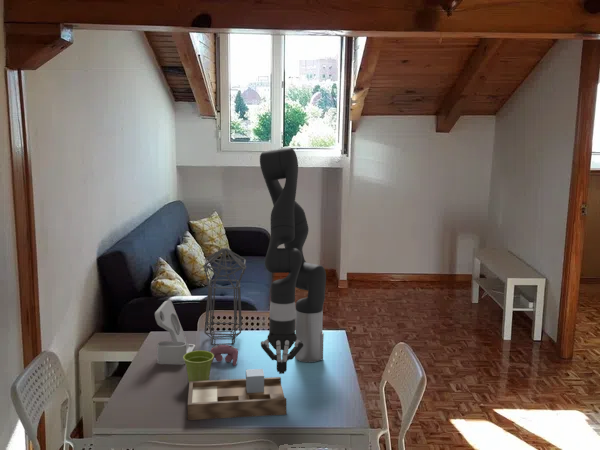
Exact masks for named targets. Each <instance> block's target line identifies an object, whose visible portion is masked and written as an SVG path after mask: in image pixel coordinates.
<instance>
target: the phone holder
mask: <svg viewBox="0 0 600 450" xmlns="http://www.w3.org/2000/svg"><path fill="white" fill-rule="evenodd" d="M154 318H155V322H156V324H157V325H158V326H159V327H160V328H161V329H164V330H165V331H167V332H168V334H169V335H170V338H171V341H169V340H168V341H160V342H157V344H156V352H157V354H156V355H157V356H156V357H157V359H156V364H159V365H179V366H181V365H182V366H183V365H186V363H185V360H184V359H183V356H184V355H185V354H186V353H188V352H192V351H195V348H196V345H195V344H193V343H189V342H188V338H187V337H186V334H185V332H184V330H183V327H182V325H181V322H180V320H179V316H178V314H177V312H176V310H175V306H174V304H173V302H172V300H171V299H168V300H165V301H164V302H162V304H161V305H160V306H159V307H158V309H157V310H156V311H154Z"/></svg>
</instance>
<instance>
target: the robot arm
mask: <svg viewBox="0 0 600 450" xmlns="http://www.w3.org/2000/svg"><path fill="white" fill-rule="evenodd" d="M259 164H260V165H259V166H260V170H261V173H262V174H261V175H262V176H263V179H264V182H265V184H266V187H267V190H268V193H269V195H270V198H271V201H272V205H273V207H272V209H271V213H270V238H269V239H270V240H269V244H268V248H267V252H266V255H265V257H264V258H265V259H264V266H265V268H266V270H267V271H268V272H269V273H273V274H276V273H277V274H278V273H280V274H282V273H284V274H285V273H286V274H287V275H286V276H285V277H283V278H280V279H276V280H274V281H272V282H271V285H270V304H269V305H270V306H269V325H268V328H269V331H268V335H267V338H266V339H265V340H264V341H263V340H262V341H260V346H261V349H262V350H263V351H264V352H265V354H266V355H267V356H268V357H269V358H270V359H271V361H275V362H276V371H277V372H278V374H279V375H282V374H283V375H284V374H285V372H287V370H288V368H287V365H288V363H287V362H288V361H289V360H291V361H292V360H293V359H294V358H295V359H296V360H297V361H299V362H302V363H315V362H319V361H324V335H325V334H324V332H323V318H324V317H323V315H324V314H323V312H324V310H323V309H324V302H325V299H326V285H327V284H326V282H327V273H326V269H325V267H324V266H323V265H320V264H318V263H317V264H316V263H312V262H310V263H309V262H307V261H306V260H305V257H304V253H303V251H304V250H303V248H304V245H305V242H306V241H307V239H308V238H307V237H308V235H309V225H308V220H307V216H306V212H305V210H304V209H303V208H302V206H301V205H300V203H298V202H297V201H296V195H297V188H298V187H297V186H298V175H299V161H298V157H297V153H296V151H295V150H294V148H292V147H282V148H278V149H277V148H275V149H270V150H265V151H262V152H261V154H260V155H259ZM283 179H284V180H285V182H284V186H283V187H282V185H281V183H280V181H279V180H283ZM282 245H283V246H284V247H279V246H282ZM296 288H297V289H299V290H303V291H307V297H303V298H300V299H298V300H297V301H296ZM293 345H294V347H293ZM270 346H272V348H273V349H274V350H275V353H276V354H275V353H274V352H273V351H272V349H271V348H270ZM292 347H293V348H292ZM291 348H292V349H291ZM290 349H291V350H290ZM289 350H290V351H289Z"/></svg>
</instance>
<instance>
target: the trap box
mask: <svg viewBox="0 0 600 450" xmlns="http://www.w3.org/2000/svg"><path fill="white" fill-rule="evenodd" d="M188 383H189V384H188V395H187V420H188V421H194V420H195V421H196V420H198V421H199V420H213V419H230V418H231V419H232V418H248V417H267V416H268V417H269V416H285V415H287V397H285V393H284V389H283V386H282V377H281V376H274V377H272V376H271V377H264V392H256V393H247V390H246V378H235V379H234V378H233V379H230V378H229V379H213V380H212V379H211V380H210V379H209V380H207V381H190V382H189V381H188Z"/></svg>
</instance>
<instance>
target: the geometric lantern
mask: <svg viewBox="0 0 600 450" xmlns="http://www.w3.org/2000/svg"><path fill="white" fill-rule="evenodd" d="M220 255H221V256H220ZM219 256H220V258H218V257H219ZM227 257H228V259H227ZM231 258H232V259H231ZM204 260H205V262H204V264H203V266H202V268H203V269H204V274H205V277H206V282H207V283H206V284H207V287H208V288H207V298H206V299H207V301H206V310H205V321H204V335H206V336H208V337H209V338H210V341H211V342H210V344H211V345H212V346H213V345H214V346H218V345H234V344H235V342H236V338H237V337H238V336H239V335H240V334H241V333H242V324H243V323H242V322H243V320H242V299H241V297H242V296H241V280H242V278H243V275H245V271H246V269H247V268H248V267H247V265H246V263H247V261H246V260H247V259H245V258H244V257H243V256H240V255H239V254H237V253H235V252H234V251H232V250H230V249H229V248H227V247H223V248H221V249H219V250H217V251H215V252H214V253H213V254H210V255H208V256H207V257H205V258H204V259H203V261H204ZM216 261H217V262H216ZM221 262H222V265H221ZM228 262H230V264H229V266H228V265H227V263H228ZM233 262H235V263H234V264H233V265H232V263H233ZM212 263H214V264H216V265H217V266H213V265H212ZM211 265H212V266H211ZM236 265H238V266H239V267H235V266H236ZM213 269H217V272H216V271H215V270H213ZM209 270H210V271H211V272H212V273H213V274H215V275H216V276H215V278H214V279H212V277H211V274H210V272H209ZM222 270H224V271H225V274H223V275H222V274H221V271H222ZM233 270H234V271H233ZM240 270H241V273H240V276H239V279H237V277H236V275H235V273H236V272H238V271H240ZM228 271H230V272H229V273H228ZM220 274H221V275H220ZM230 275H233V276H234V278H235V279H231V278H230V277H229V276H230ZM208 277H209V278H208ZM225 277H226V278H227V279H219V278H225ZM217 281H218V282H219V281H222V282H223V281H224V282H225V281H227V282H229V283H230V284H231V286H232V287H226V286H225V287H224V286H222V287H220V286H219V287H218V286H217V283H216V282H217ZM212 282H213V283H212ZM233 282H236V283H235V284H236V286H235V285H234V283H233ZM216 286H217V287H216ZM216 289H229V290H230V289H231V290H233V322H217V321H216V322H214V316H215V314H214V313H215V302H216V301H215V300H216V299H215V298H216ZM237 316H238V317H237ZM237 318H238V322H237ZM213 325H233V327H232V329H231V330H216V331H215V330H214V326H213ZM236 325H238V327H236ZM207 329H209V332H208V331H207ZM238 329H239V330H238ZM237 330H238V331H239V332H237ZM227 337H229V338H227ZM230 337H231V338H230ZM216 340H231V342H228V343H216Z"/></svg>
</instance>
